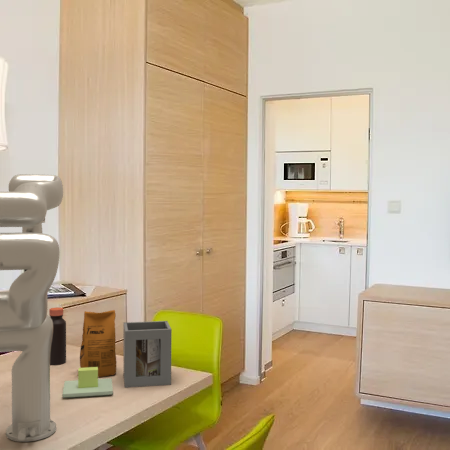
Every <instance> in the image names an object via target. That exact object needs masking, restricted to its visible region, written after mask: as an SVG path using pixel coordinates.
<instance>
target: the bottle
mask: <svg viewBox="0 0 450 450" xmlns="http://www.w3.org/2000/svg"><path fill="white" fill-rule="evenodd" d="M48 316H49V317H50V318H51V319H52V322H53V336H52V342H51V351H50V366H57V365H59V366H60V365H63V364H65V363H66V362H67V321H66V320H65V319H64V318H63V316H64V308H63V307H50V308H49V314H48Z"/></svg>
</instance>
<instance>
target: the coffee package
mask: <svg viewBox="0 0 450 450" xmlns="http://www.w3.org/2000/svg"><path fill="white" fill-rule="evenodd" d="M83 316H84V317H83V326H82V336H81V338H82V340H81V344H80V351H79V366H80V367H79V368H87V367H98V378H104V377H105V378H106V377H110V376H114V375H116V372H117V355H116V310H115V309H113V310H108V311H103V312H102V311H101V312H94V311H84V314H83Z"/></svg>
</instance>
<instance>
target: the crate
mask: <svg viewBox="0 0 450 450" xmlns="http://www.w3.org/2000/svg"><path fill="white" fill-rule="evenodd" d="M143 329H148V330H143ZM147 339H160V375H159V376H149V377H147V376H142V377H136V340H147ZM122 347H123V353H122V355H123V356H122V357H123V361H122V362H123V364H122V365H123V367H122V368H123V372H122V373H123V383H124V388H139V387H154V386H170V385H172V328H171V326H170V323H169V322H168V320H157V321H156V320H155V321H134V322H133V321H129V322H128V321H127V322H126V321H125V322H123V346H122Z"/></svg>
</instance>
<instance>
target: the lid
mask: <svg viewBox="0 0 450 450" xmlns="http://www.w3.org/2000/svg"><path fill="white" fill-rule="evenodd" d="M77 374H78V375H77V376H78V377H77V378H78V379H76V380H65V381H64V383H63V388H62V389H63V390H62V398H85V397H98V396H99V397H100V396H109V395H113V394H114V390H113V389H114V388H113V379H112V377H110V378H109V377H108V378H99V377H98V367H87V368H80V367H78V370H77Z"/></svg>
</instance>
